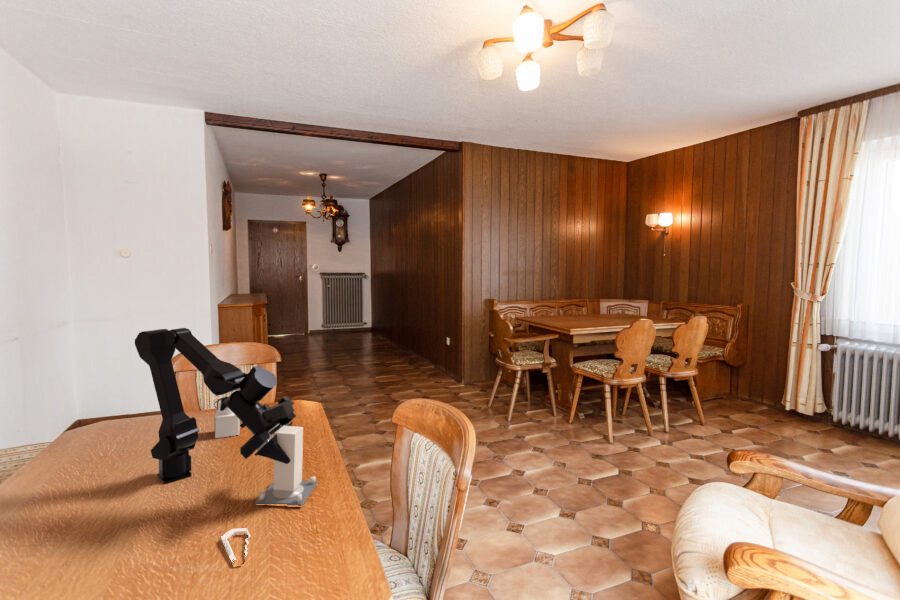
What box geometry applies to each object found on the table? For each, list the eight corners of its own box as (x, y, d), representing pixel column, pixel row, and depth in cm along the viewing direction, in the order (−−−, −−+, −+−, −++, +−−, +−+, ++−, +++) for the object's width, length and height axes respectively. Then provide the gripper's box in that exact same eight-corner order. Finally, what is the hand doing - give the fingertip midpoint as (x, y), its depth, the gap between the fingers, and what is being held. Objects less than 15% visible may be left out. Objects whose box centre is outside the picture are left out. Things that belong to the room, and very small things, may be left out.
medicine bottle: (216, 431, 150) (215, 396, 149) (239, 428, 153) (239, 394, 152) (214, 438, 143) (214, 402, 142) (239, 435, 146) (239, 400, 145)
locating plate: (301, 508, 104) (301, 497, 104) (255, 505, 105) (255, 494, 104) (318, 485, 115) (318, 475, 115) (276, 482, 116) (276, 473, 115)
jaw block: (293, 491, 107) (295, 434, 106) (273, 489, 107) (274, 432, 106) (301, 481, 112) (303, 426, 111) (282, 479, 112) (283, 425, 111)
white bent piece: (261, 564, 86) (261, 556, 86) (233, 574, 83) (233, 566, 82) (243, 529, 96) (244, 521, 96) (218, 537, 93) (218, 529, 92)
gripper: (253, 401, 99) (301, 452, 99) (288, 380, 117) (329, 423, 117) (219, 433, 100) (267, 484, 100) (260, 407, 118) (300, 450, 119)
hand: (293, 457), depth 109 cm, fingers closed on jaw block, 5 cm apart
